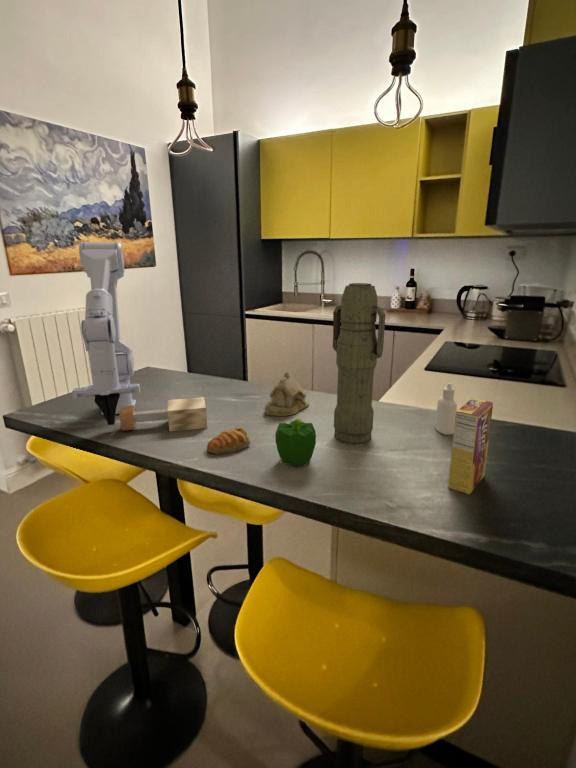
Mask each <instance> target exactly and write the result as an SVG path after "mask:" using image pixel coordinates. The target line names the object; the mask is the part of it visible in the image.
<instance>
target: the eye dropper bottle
mask: <svg viewBox="0 0 576 768" xmlns="http://www.w3.org/2000/svg"><path fill="white" fill-rule="evenodd" d="M454 396H455V389H454V388H453V387H452V383H451V382H448V383H447V385H446V386H445V387H443V390H442V396H440V397H439V398H437V406H436V414H435V423H434V428H435V430H436V431H437V432H438V433H441V434H443V435H446V436H448V435H450V436H451V435H453V434H454V424H455V414H456V411H457V410H458V404H457V401H456V400H455V399H454Z"/></svg>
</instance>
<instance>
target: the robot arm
mask: <svg viewBox="0 0 576 768" xmlns="http://www.w3.org/2000/svg"><path fill="white" fill-rule="evenodd" d="M78 253H79V259H80V260H79V261H80V263H81V265H82V268H83V270H84V273H86V275H87V278H89V279H90V287H91V289H90V290H89V291H88V292H87V293H86V295H85V308H84V309H85V312H84V319H82V320H81V324H80V327H81V329H80V330H81V337H82V339H83V342H84V346H85V350H86V352H87V355H88V361H89V362H88V363H89V369H90V370H89V371H90V374H91V382H92V385H90V386H84V387H83V386H82V387H74V388H73V389H72V391H71V392H72V399H73V400H74V399H79V398H87V397H88V398H89V397H94V400H93V401H94V403H95V405H96V406H97V408H98V409H99V410H100V411H101V416H104V419H105V420H106V422H107V425H108V426H113V425H115V423H116V415H117V414H118V415H119V412H120V409H121V406H132V405H134V407H135V406H136V402H137V400H136V399H133V394H135V395H137V394H138V395H139V394H140V393H141V386H140V383H131V379H130V378H131V377H132V376H133V375H134V374H135V363H134V355H133V351H132V350H133V349H132V348H131V347H130V346H129V345H128V344H126V343H124V342H123V341H121V331H120V330H121V329H120V319H119V307H118V306H119V305H118V294H117V293H118V291H117V287H118V281H119V280H120V279H121V278H123V277H125V261H124V260H125V258H124V257H125V256H124V251H123V246H122V243H120V241H112V242H111V241H109V242H108V241H107V242H105V241H100V242H99V241H91V242H90V241H86V242H85V241H81V242H80V243H79V246H78ZM135 408H136V407H135Z"/></svg>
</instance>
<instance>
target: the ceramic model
mask: <svg viewBox="0 0 576 768" xmlns="http://www.w3.org/2000/svg"><path fill="white" fill-rule="evenodd" d="M306 397H307V392H306V391H305V390H304V389H303V388H302V386H301V385H300V384H299V382H298V381H297V380H296V379H295V378H294V377H293V376H292V374H291V373H289V372H284V374H283V377H282V378H281V379H280V380H279V382H278V383H276V384H275V385H274V387H273V388H272V390H271V391H270V393H269V398H270V400H269V401H267V403H266V404H265V407H264V411H265V413H266V415H269V416H277V417H279V416H280V417H285V416H291V415H295V414H297V413H298V412H299V411H301V410H303V409H306V408H307V407H308V406H310V404H309V402H307V401H306Z"/></svg>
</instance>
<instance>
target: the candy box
mask: <svg viewBox="0 0 576 768" xmlns="http://www.w3.org/2000/svg"><path fill="white" fill-rule="evenodd" d="M493 408H494V402H493V401H488V400H483V399H479V398H471V399H469V400H468V401H467V402H466V403H465V404H464V405H462V406H461V407H460V408H457V411H456V414H455V424H454V433H453V434H452V443H451V444H452V445H451V454H450V464H449V465H450V466H449V474H448V485H447V487H448V489H451V490H454V491H457V492H460V493H463V494H465V495H471V493H472V492H473V491H474V490H475V488H476V487H477V486H478V484H479V483H480V482H481V481H482V480H483V478H484V477H485V474H486V467H487V466H486V465H487V459H488V450H489V449H488V448H489V442H490V433H491V432H490V431H491V426H492V417H493Z"/></svg>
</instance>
